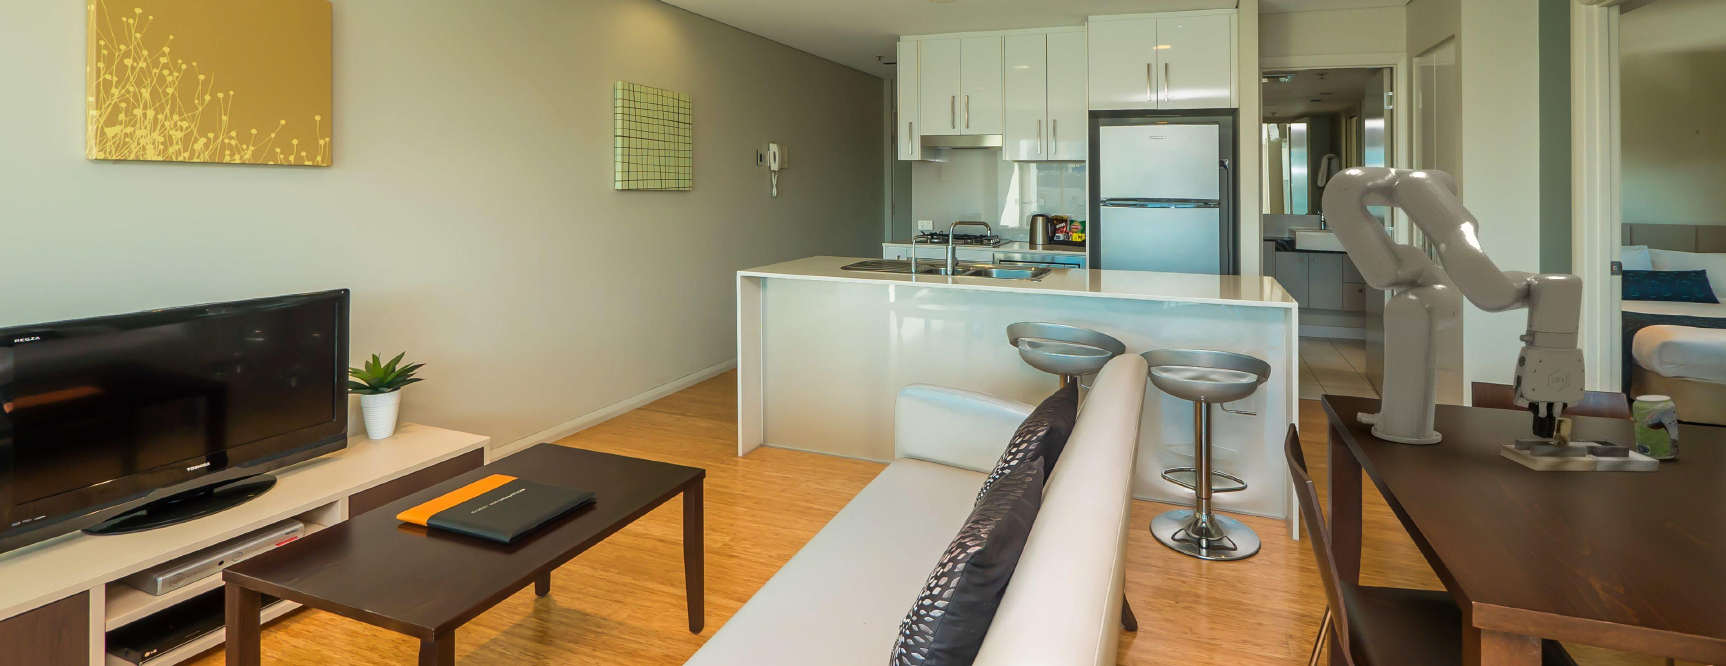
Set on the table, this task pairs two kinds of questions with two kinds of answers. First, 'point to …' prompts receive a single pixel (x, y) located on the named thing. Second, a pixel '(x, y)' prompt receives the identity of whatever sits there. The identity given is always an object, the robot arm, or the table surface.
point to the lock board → (1577, 456)
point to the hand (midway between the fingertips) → (1542, 436)
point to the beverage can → (1656, 426)
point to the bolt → (1568, 436)
